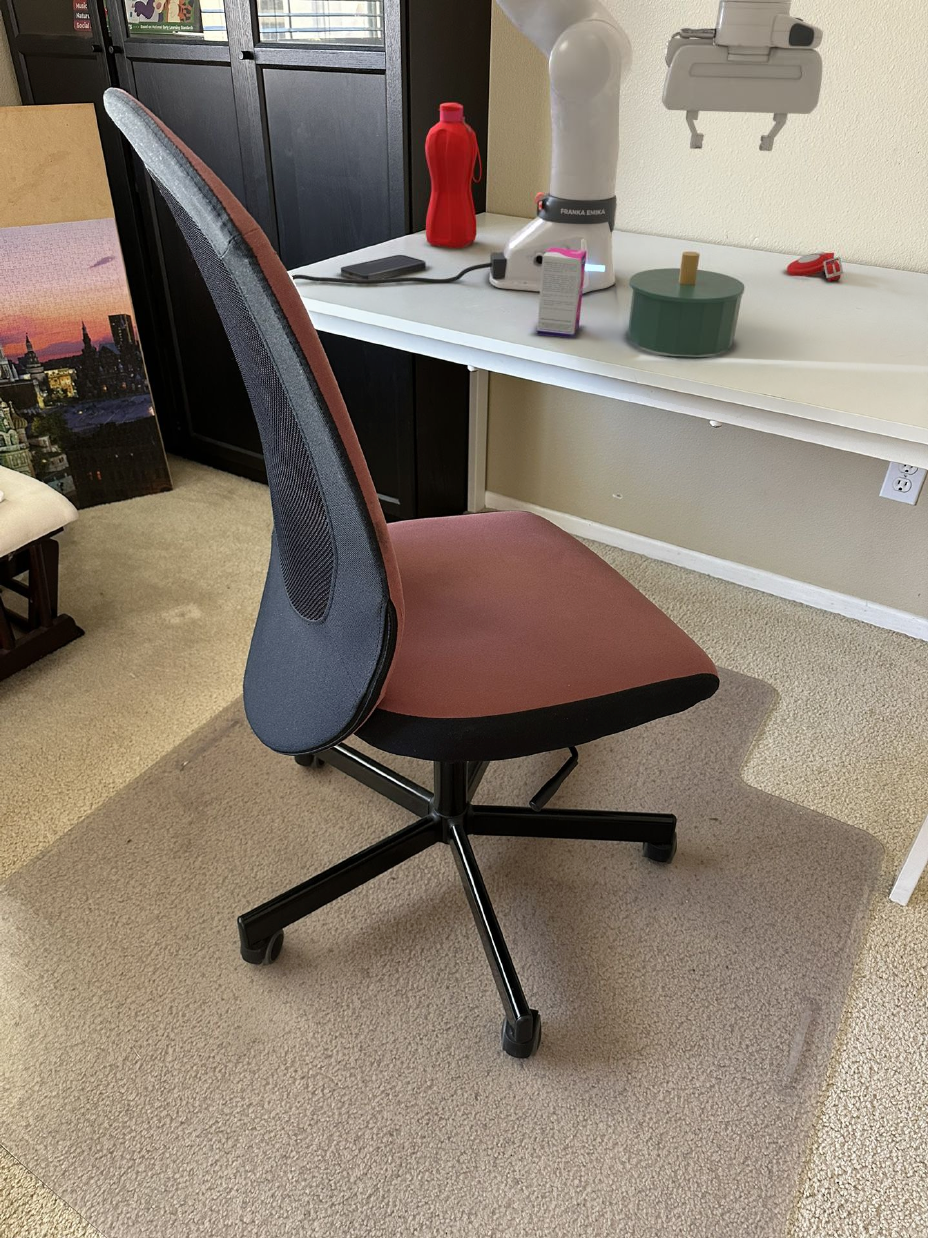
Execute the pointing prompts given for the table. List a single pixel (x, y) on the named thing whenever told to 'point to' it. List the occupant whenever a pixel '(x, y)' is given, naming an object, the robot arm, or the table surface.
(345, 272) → the phone
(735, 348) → the table surface
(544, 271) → the supplement box
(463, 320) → the table surface
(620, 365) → the table surface
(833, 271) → the tracker holder
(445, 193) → the water bottle
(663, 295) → the tin lid
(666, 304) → the tin
